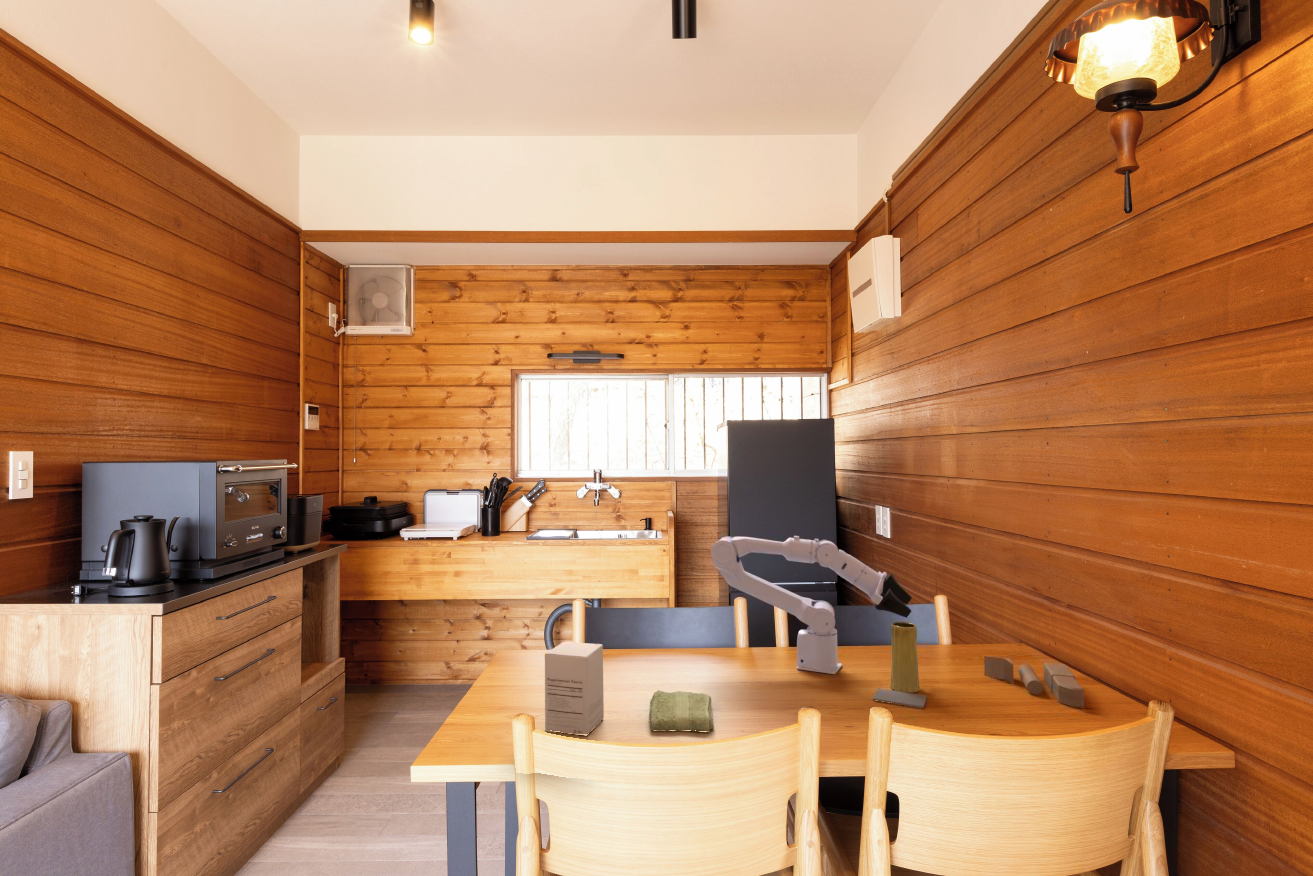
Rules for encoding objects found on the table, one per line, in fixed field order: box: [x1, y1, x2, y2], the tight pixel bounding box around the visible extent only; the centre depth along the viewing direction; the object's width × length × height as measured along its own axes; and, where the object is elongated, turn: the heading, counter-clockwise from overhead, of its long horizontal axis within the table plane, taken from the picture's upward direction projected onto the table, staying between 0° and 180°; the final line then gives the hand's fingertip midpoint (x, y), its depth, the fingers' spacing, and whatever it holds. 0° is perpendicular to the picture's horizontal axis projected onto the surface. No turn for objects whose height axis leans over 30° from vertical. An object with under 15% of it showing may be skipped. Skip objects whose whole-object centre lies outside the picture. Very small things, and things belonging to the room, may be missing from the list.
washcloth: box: [648, 690, 715, 732], centre depth 133 cm, size 13×18×3 cm
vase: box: [890, 621, 921, 694], centre depth 148 cm, size 6×6×14 cm
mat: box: [872, 688, 928, 710], centre depth 141 cm, size 10×7×1 cm
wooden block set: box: [983, 656, 1085, 709], centre depth 146 cm, size 17×6×18 cm
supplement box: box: [544, 641, 605, 735], centre depth 128 cm, size 9×9×15 cm
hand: (909, 607), depth 158 cm, fingers open, 7 cm apart
